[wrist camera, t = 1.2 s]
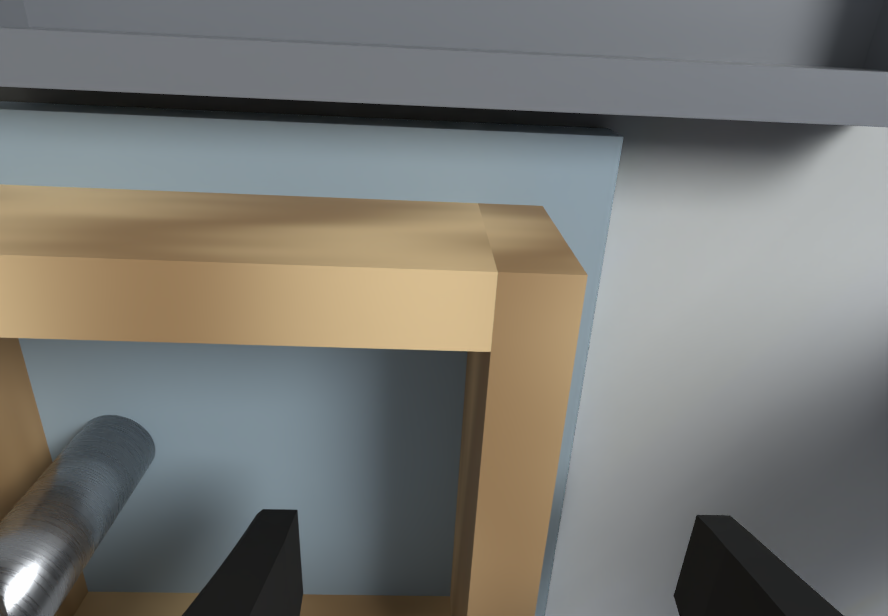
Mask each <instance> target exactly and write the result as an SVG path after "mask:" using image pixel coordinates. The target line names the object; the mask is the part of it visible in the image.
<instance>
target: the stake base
mask: <svg viewBox="0 0 888 616" xmlns="http://www.w3.org/2000/svg"><path fill="white" fill-rule="evenodd" d="M623 138H624V137H623V136H621V135H619V134H617V133H616V132H614V131H612V130H610V129H606V128H584V127H562V126H540V125H517V124H495V123H473V122H451V121H428V120H406V119H384V118H362V117H339V116H317V115H295V114H272V113H250V112H228V111H206V110H183V109H161V108H139V107H117V106H94V105H72V104H50V103H28V102H5V101H0V184H3V185H28V186H53V187H79V188H104V189H129V190H155V191H180V192H205V193H231V194H256V195H281V196H307V197H332V198H357V199H383V200H408V201H433V202H459V203H484V204H509V205H535V206H543V207H544V209H545V210H546V212H547V213H548V215H549V217H550V218H551V220H552V221H553V223H554V224H555V226H556V227H557V229H558V230H559V232H560V233H561V235H562V236H563V238H564V240H565V241H566V243H567V244H568V246H569V247H570V249H571V250H572V252H573V253H574V255H575V256H576V258H577V259H578V261H579V263H580V264H581V266H582V267H583V269H584V270H585V272H586V273H587V275H588V277H587V283H586V290H585V296H584V303H583V309H582V315H581V322H580V328H579V335H578V341H577V348H576V354H575V360H574V367H573V373H572V380H571V386H570V392H569V399H568V405H567V412H566V418H565V425H564V431H563V437H562V444H561V450H560V457H559V463H558V470H557V476H556V482H555V489H554V495H553V502H552V508H551V514H550V521H549V527H548V534H547V540H546V547H545V553H544V559H543V566H542V572H541V579H540V585H539V592H538V598H537V604H536V611H535V616H545V609H546V603H547V597H548V591H549V585H550V579H551V573H552V567H553V561H554V555H555V549H556V543H557V537H558V531H559V525H560V519H561V513H562V507H563V501H564V495H565V488H566V482H567V476H568V470H569V464H570V458H571V452H572V446H573V440H574V434H575V428H576V422H577V416H578V410H579V404H580V398H581V392H582V386H583V380H584V374H585V367H586V361H587V355H588V349H589V343H590V337H591V331H592V325H593V319H594V313H595V307H596V301H597V295H598V289H599V283H600V277H601V271H602V265H603V259H604V253H605V246H606V240H607V234H608V228H609V222H610V216H611V210H612V204H613V198H614V192H615V186H616V180H617V174H618V168H619V162H620V156H621V150H622V144H623ZM18 339H19V343H20V346H21V350H22V354H23V357H24V361H25V364H26V368H27V372H28V375H29V379H30V383H31V386H32V390H33V393H34V397H35V401H36V404H37V408H38V411H39V415H40V419H41V422H42V426H43V430H44V433H45V437H46V440H47V444H48V448H49V451H50V455H51V458H52V462H53V461H54V460H55V459H56V458H57V456H58V455H59V454H60V453H61V452H62V451H63V450H64V448H65V447H66V446H67V445H68V444H69V443H70V441H71V440H72V439H73V438H74V437H75V436H76V435H77V433H78V432H79V431H80V430H81V429H82V428H83V427H84V425H85V424H86V423H87V422H88V421H90V420H91V419H93V418H96V417H99V416H103V415H118V416H122V417H126V418H129V419H131V420H133V421H135V422H137V423H138V424H140V425H141V426H142V427H144V428H145V429H146V430H147V431H148V433H149V434H150V435H151V437H152V439H153V441H154V444H155V450H156V451H155V457H154V460H153V462H152V463H151V465H150V466H149V468H148V469H147V471H146V473H145V474H144V476H143V477H142V479H141V480H140V482H139V484H138V485H137V487H136V488H135V490H134V491H133V493H132V494H131V496H130V498H129V499H128V501H127V502H126V504H125V505H124V507H123V509H122V510H121V512H120V513H119V515H118V516H117V518H116V520H115V521H114V523H113V524H112V526H111V527H110V529H109V530H108V532H107V534H106V535H105V537H104V538H103V540H102V541H101V543H100V545H99V546H98V548H97V549H96V551H95V552H94V554H93V556H92V557H91V559H90V560H89V562H88V563H87V565H86V567H85V568H84V570H83V574H84V578H85V581H86V585H87V589H88V592H160V593H200V592H201V591H202V589H203V588H204V587H205V585H206V584H207V583H208V582H209V580H210V579H211V578H212V577H213V575H214V574H215V573H216V571H217V570H218V569H219V567H220V566H221V564H222V563H223V562H224V560H225V559H226V558H227V556H228V555H229V554H230V552H231V551H232V549H233V548H234V547H235V545H236V544H237V542H238V541H239V540H240V538H241V537H242V535H243V534H244V532H245V531H246V529H247V528H248V526H249V525H250V524H251V522H252V520H253V519H254V517H255V516H256V514H257V513H259V512H260V511H261V510H262V509H291V510H298V524H299V538H300V553H301V567H302V581H303V594H317V595H396V596H450V590H451V576H452V562H453V548H454V534H455V520H456V506H457V492H458V478H459V464H460V450H461V435H462V421H463V407H464V393H465V379H466V365H467V351H442V350H408V349H374V348H340V347H306V346H271V345H237V344H203V343H169V342H135V341H101V340H67V339H33V338H18Z"/></svg>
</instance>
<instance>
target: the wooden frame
mask: <svg viewBox="0 0 888 616" xmlns="http://www.w3.org/2000/svg"><path fill="white" fill-rule="evenodd" d="M587 277H588V275H587V273H586V272H585V270H584V269H583V267H582V266H581V264H580V263H579V261H578V259H577V258H576V256H575V255H574V253H573V252H572V250H571V249H570V247H569V246H568V244H567V243H566V241H565V240H564V238H563V236H562V235H561V233H560V232H559V230H558V229H557V227H556V226H555V224H554V223H553V221H552V220H551V218H550V217H549V215H548V213H547V212H546V210H545V209H544V207H543V206H535V205H509V204H484V203H459V202H433V201H408V200H383V199H357V198H332V197H307V196H281V195H256V194H231V193H205V192H180V191H155V190H129V189H104V188H79V187H53V186H28V185H3V184H0V522H1V521H2V520H3V519H4V517H5V516H6V515H7V514H8V513H9V512H10V511H11V509H12V508H13V507H14V506H15V505H16V504H17V502H18V501H19V500H20V499H21V498H22V497H23V496H24V494H25V493H26V492H27V491H28V490H29V489H30V488H31V486H32V485H33V484H34V483H35V482H36V481H37V479H38V478H39V477H40V476H41V475H42V474H43V473H44V471H45V470H46V469H47V468H48V467H49V466H50V464H51V463H52V458H51V455H50V451H49V448H48V444H47V440H46V437H45V433H44V430H43V426H42V422H41V419H40V415H39V411H38V408H37V404H36V401H35V397H34V393H33V390H32V386H31V383H30V379H29V375H28V372H27V368H26V364H25V361H24V357H23V354H22V350H21V346H20V343H19V339H18V338H33V339H67V340H101V341H135V342H169V343H203V344H237V345H271V346H306V347H340V348H374V349H408V350H442V351H467V365H466V379H465V393H464V407H463V421H462V435H461V450H460V464H459V478H458V492H457V506H456V520H455V534H454V548H453V562H452V576H451V590H450V596H396V595H317V594H303V598H302V604H301V611H300V616H535V611H536V604H537V598H538V592H539V585H540V579H541V572H542V566H543V559H544V553H545V547H546V540H547V534H548V527H549V521H550V514H551V508H552V502H553V495H554V489H555V482H556V476H557V470H558V463H559V457H560V450H561V444H562V437H563V431H564V425H565V418H566V412H567V405H568V399H569V392H570V386H571V380H572V373H573V367H574V360H575V354H576V348H577V341H578V335H579V328H580V322H581V315H582V309H583V303H584V296H585V290H586V283H587ZM198 594H199V593H160V592H88V589H87V585H86V581H85V578H84V574H83V571H82V573H81V574H80V576H79V577H78V579H77V581H76V582H75V584H74V585H73V587H72V588H71V590H70V592H69V593H68V595H67V596H66V598H65V599H64V601H63V603H62V604H61V606H60V607H59V609H58V610H57V612H56V614H55V615H54V616H182V615H183V613H184V612H185V611H186V610H187V608H188V607H189V606H190V605H191V603H192V602H193V601H194V599H195V598H196V597H197V596H198Z"/></svg>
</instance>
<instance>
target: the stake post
mask: <svg viewBox="0 0 888 616" xmlns="http://www.w3.org/2000/svg"><path fill="white" fill-rule="evenodd" d="M155 451H156V450H155V444H154V441H153V439H152V437H151V435H150V434H149V433H148V431H147V430H146V429H145V428H144V427H142V426H141V425H140V424H138V423H137V422H135V421H133V420H131V419H129V418H126V417H122V416H118V415H103V416H99V417H96V418H93V419H91V420H90V421H88V422H87V423H86V424H85V425H84V427H83V428H82V429H81V430H80V431H79V432H78V433H77V435H76V436H75V437H74V438H73V439H72V440H71V441H70V443H69V444H68V445H67V446H66V447H65V448H64V450H63V451H62V452H61V453H60V454H59V455H58V456H57V458H56V459H55V460H54V461H53V462H52V463H51V464H50V466H49V467H48V468H47V469H46V470H45V471H44V473H43V474H42V475H41V476H40V477H39V478H38V479H37V481H36V482H35V483H34V484H33V485H32V486H31V488H30V489H29V490H28V491H27V492H26V493H25V494H24V496H23V497H22V498H21V499H20V500H19V501H18V502H17V504H16V505H15V506H14V507H13V508H12V509H11V511H10V512H9V513H8V514H7V515H6V516H5V517H4V519H3V520H2V521H1V522H0V616H54V615H55V614H56V612H57V610H58V609H59V607H60V606H61V604H62V603H63V601H64V599H65V598H66V596H67V595H68V593H69V592H70V590H71V588H72V587H73V585H74V584H75V582H76V581H77V579H78V577H79V576H80V574H81V573H82V571H83V570H84V568H85V567H86V565H87V563H88V562H89V560H90V559H91V557H92V556H93V554H94V552H95V551H96V549H97V548H98V546H99V545H100V543H101V541H102V540H103V538H104V537H105V535H106V534H107V532H108V530H109V529H110V527H111V526H112V524H113V523H114V521H115V520H116V518H117V516H118V515H119V513H120V512H121V510H122V509H123V507H124V505H125V504H126V502H127V501H128V499H129V498H130V496H131V494H132V493H133V491H134V490H135V488H136V487H137V485H138V484H139V482H140V480H141V479H142V477H143V476H144V474H145V473H146V471H147V469H148V468H149V466H150V465H151V463H152V462H153V460H154V457H155Z"/></svg>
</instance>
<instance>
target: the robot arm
mask: <svg viewBox="0 0 888 616" xmlns="http://www.w3.org/2000/svg"><path fill="white" fill-rule="evenodd" d="M302 598H303V581H302V567H301V553H300V538H299V524H298V510H291V509H262V510H261V511H260V512H259V513H257V514H256V516H255V517H254V519H253V520H252V522H251V524H250V525H249V526H248V528H247V529H246V531H245V532H244V534H243V535H242V537H241V538H240V540H239V541H238V542H237V544H236V545H235V547H234V548H233V549H232V551H231V552H230V554H229V555H228V556H227V558H226V559H225V560H224V562H223V563H222V564H221V566H220V567H219V569H218V570H217V571H216V573H215V574H214V575H213V577H212V578H211V579H210V580H209V582H208V583H207V584H206V585H205V587H204V588H203V589H202V591H201V592H200V593H199V594H198V596H197V597H196V598H195V599H194V601H193V602H192V603H191V605H190V606H189V607H188V608H187V610H186V611H185V612H184V613H183V615H182V616H300V611H301V604H302ZM674 598H675V601H676V605H677V608H678V612H679V615H680V616H843V615H842V614H841V613H840V612H839V611H838V610H836V609H835V608H834V607H833V606H832V605H831V604H829V603H828V602H827V601H826V600H825V599H824V598H823V597H821V596H820V595H819V594H818V593H817V592H816V591H815V590H813V589H812V588H811V587H810V586H809V585H808V584H807V583H805V582H804V581H803V580H802V579H801V578H800V577H799V576H798V575H796V574H795V573H794V572H793V571H792V570H791V569H790V568H789V567H787V566H786V565H785V564H784V563H783V562H782V561H781V560H780V559H779V558H777V557H776V556H775V555H774V554H773V553H772V552H771V551H770V550H769V549H767V548H766V547H765V546H764V545H763V544H762V543H761V542H760V541H758V540H757V539H756V538H755V537H754V536H753V535H752V534H751V533H749V532H748V531H747V530H746V529H745V528H744V527H743V526H741V525H740V524H739V523H738V522H737V521H735V520H734V519H733V518H732V517H731V516H725V515H697V516H696V520H695V523H694V527H693V530H692V534H691V537H690V541H689V544H688V548H687V551H686V555H685V558H684V562H683V565H682V569H681V572H680V576H679V579H678V583H677V586H676V590H675V593H674Z"/></svg>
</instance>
